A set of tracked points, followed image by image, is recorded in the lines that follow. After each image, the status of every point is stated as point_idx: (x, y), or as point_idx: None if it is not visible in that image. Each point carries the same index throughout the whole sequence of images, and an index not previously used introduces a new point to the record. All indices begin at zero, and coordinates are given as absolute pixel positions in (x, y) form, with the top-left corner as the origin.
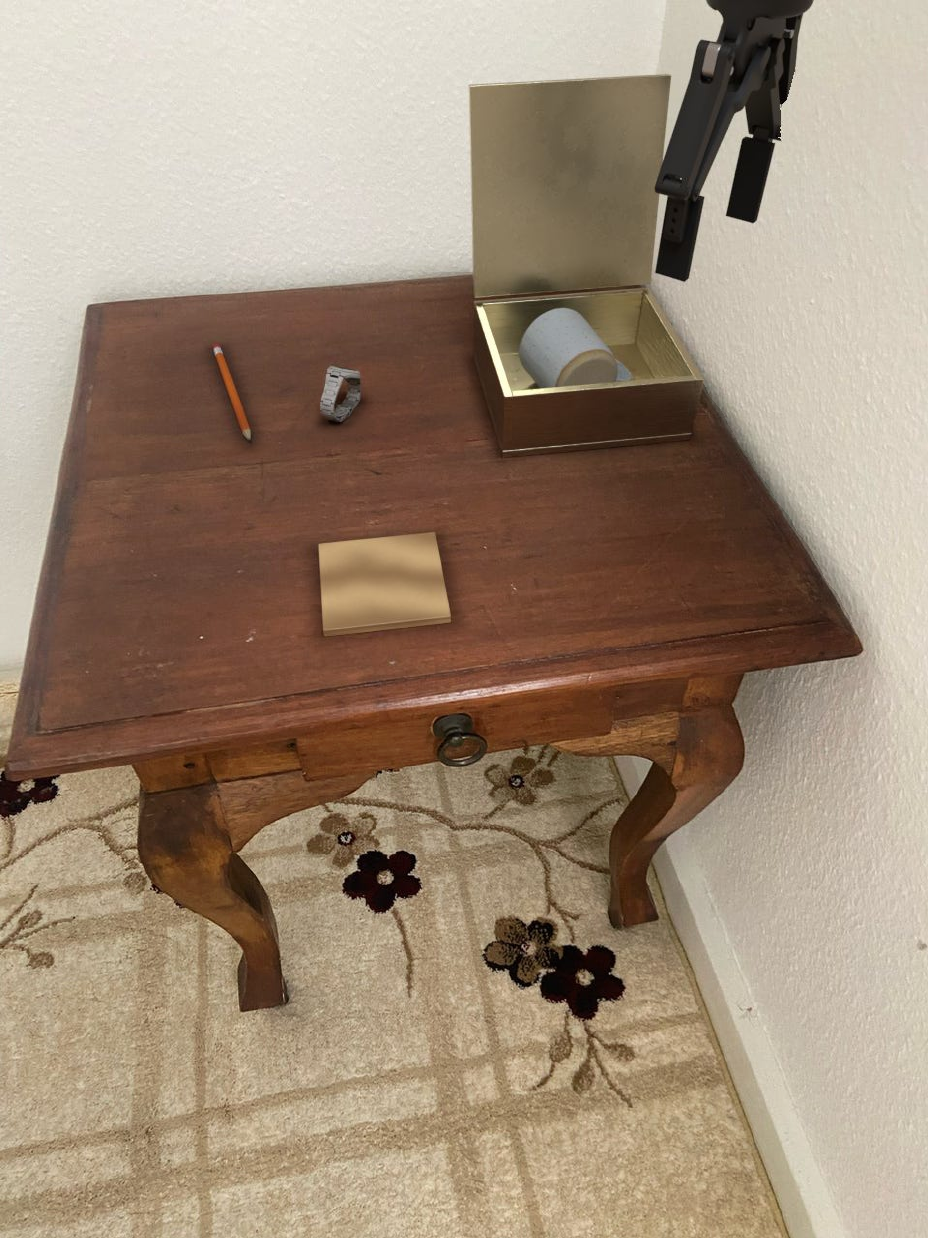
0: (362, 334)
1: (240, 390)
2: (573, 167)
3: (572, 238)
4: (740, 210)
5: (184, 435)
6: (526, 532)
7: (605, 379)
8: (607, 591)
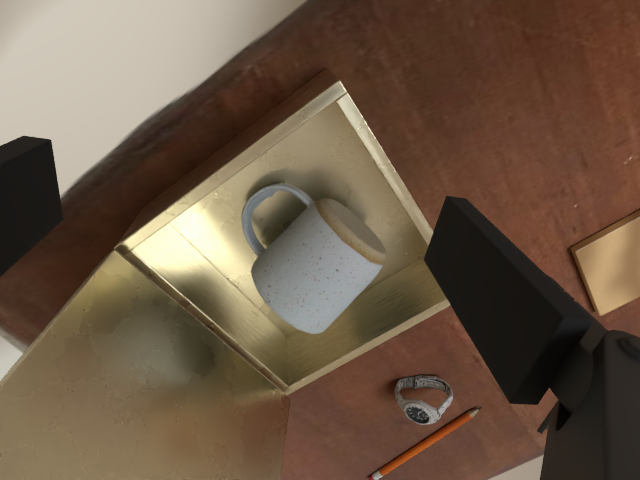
0: (295, 423)
1: (414, 442)
2: None
3: (185, 391)
4: (44, 193)
5: (480, 437)
6: (548, 181)
7: (338, 212)
8: (629, 69)
